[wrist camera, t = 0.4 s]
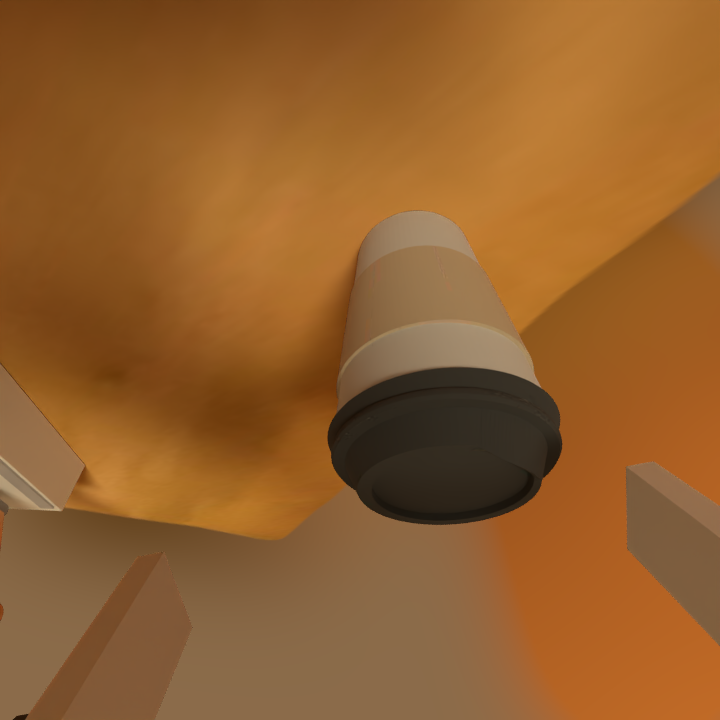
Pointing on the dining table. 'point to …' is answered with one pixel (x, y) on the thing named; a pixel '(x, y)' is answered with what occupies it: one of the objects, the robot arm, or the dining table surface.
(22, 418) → the white lever base
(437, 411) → the coffee cup
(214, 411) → the dining table surface
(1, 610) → the orange lever
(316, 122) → the dining table surface
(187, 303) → the dining table surface
